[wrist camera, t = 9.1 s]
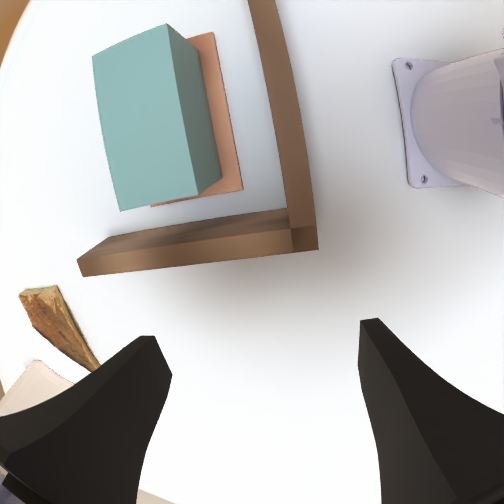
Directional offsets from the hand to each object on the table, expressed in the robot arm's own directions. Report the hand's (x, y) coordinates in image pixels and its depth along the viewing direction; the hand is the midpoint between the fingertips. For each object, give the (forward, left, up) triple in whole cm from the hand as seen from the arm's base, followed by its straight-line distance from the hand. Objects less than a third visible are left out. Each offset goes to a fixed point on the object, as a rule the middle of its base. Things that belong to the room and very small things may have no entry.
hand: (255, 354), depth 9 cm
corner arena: (+4, -9, -9) cm, 14 cm away
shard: (+21, +5, -10) cm, 24 cm away
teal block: (+4, -9, -9) cm, 13 cm away
